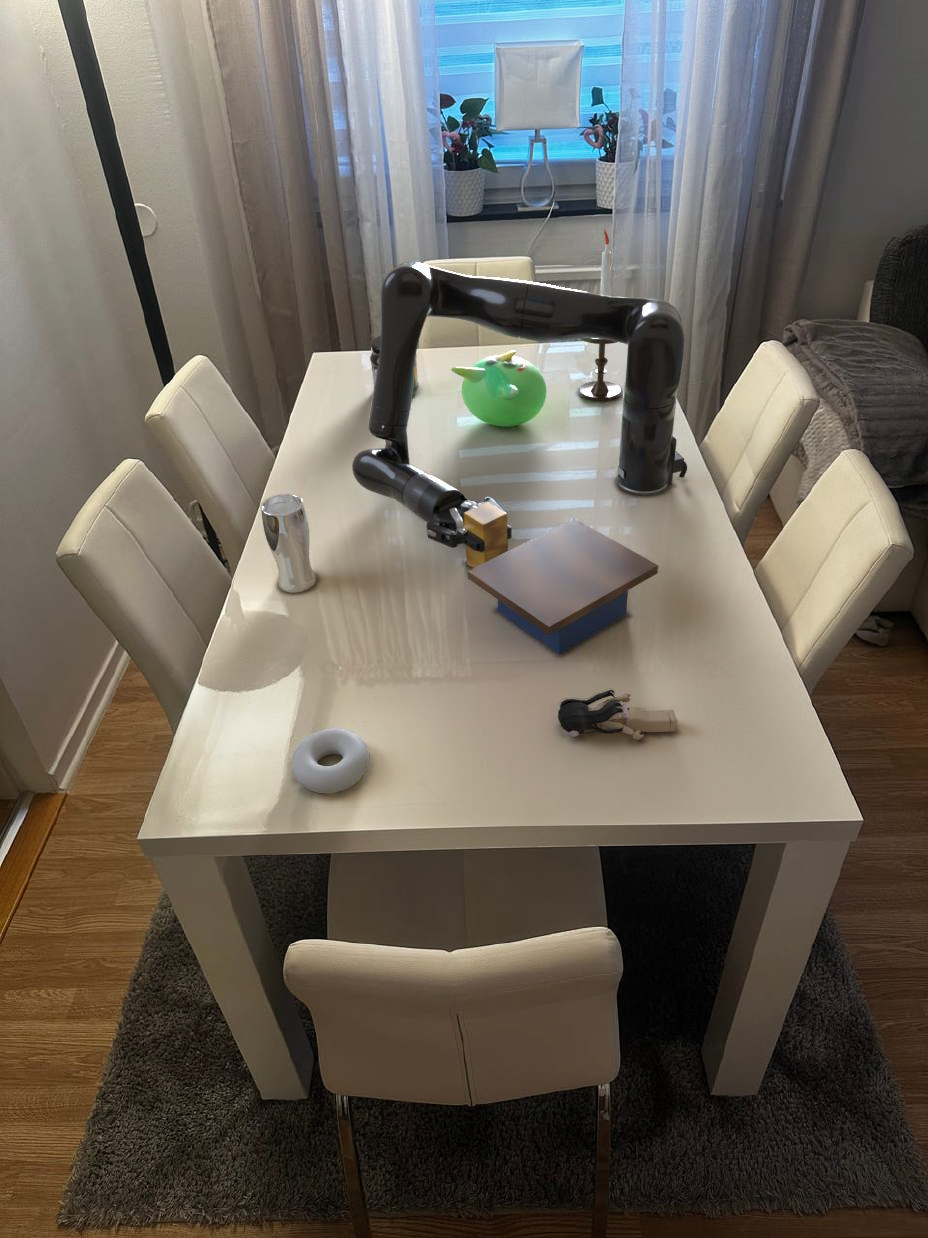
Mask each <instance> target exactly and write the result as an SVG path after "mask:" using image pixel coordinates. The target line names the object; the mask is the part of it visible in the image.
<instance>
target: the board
mask: <svg viewBox="0 0 928 1238" xmlns="http://www.w3.org/2000/svg"><path fill="white" fill-rule="evenodd" d="M658 573H659V564H657V563H655V562H653V561H652V560H650V559H648V558H646V557H645V556H642V555H641V554H639V553H637V552H636V551H634V550H632V549H630V548H628V547H626V546H625V545H623V544H621V543H619V542H618V541H616V540H614V539H612V538H611V537H608V536H607V535H605V534H604V533H602V532H600V531H598V530H596V529H594V528H592V527H591V526H589V525H587V524H585V523H583V522H582V521H580V520H578V519H576V518H571V519H570V520H567V521H566V522H563V523H562V524H559V525H557V526H555V527H553V528H552V529H550V530H547V531H545V532H544V533H541V534H539V535H537V536H535V537H533V538H531V539H529V540H527V541H525V542H523V543H521V544H519V545H517V546H515V547H513V548H511V549H508V551H507V552H505V553H503V554H501V555H499V556H497V557H495V558H493V559H491V560H489V561H487V562H485V563H483V564H481V565H479V566H477V567H475V568H473V567H472V568H471V569H469V570H467V580H469V581H470V582H472V583H473V584H474V585H476V586H477V587H479V589H481V590H483V591H484V592H486V593H488V594H489V595H491V596H492V597H493V598H495V600H497V601H498V600H499V601H500V602H502V603H503V604H505V605H506V606H508V607H509V608H511V609H512V610H513V611H515V612H516V613H518V614H519V615H521V616H522V617H523V618H525V619H526V620H528V621H529V622H531V623H532V624H534V625H535V626H536V627H538V628H539V629H541V630H542V631H544V632H545V633H546V634H548V635H551V634H552V633H554V632H556V631H558V630H559V629H561V628H563V627H565V626H566V625H568V624H570V623H572V622H573V621H575V620H577V619H579V618H580V617H582V616H584V615H586V614H587V613H589V612H591V611H593V610H594V609H596V608H598V607H600V606H601V605H603V604H605V603H607V602H608V601H610V600H612V599H614V598H615V597H617V596H619V595H621V594H622V593H624V592H626V591H628V592H629V591H630V590H632V589H633V588H635V587H637V586H638V585H640V584H642V583H643V582H645V581H647V580H649V579H650V578H652V577H654V576H656V575H658Z"/></svg>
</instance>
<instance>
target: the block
mask: <svg viewBox="0 0 928 1238" xmlns="http://www.w3.org/2000/svg"><path fill="white" fill-rule="evenodd" d="M507 524H508V513H507V512H506V511H505V510H504V511H502V510H500V509H498V508H497V507H495V506H493V505H492V504H490V503H488V502H486V503H484V504H482V505H480V506H478V507H475V508H473V509H471V510H469V511H467V512H464V525H465V528H466V529H467V533H468V532H472V533H473V534H475V535H476V536H478V537H480V538H481V539H483V540H484V542H485V551H483V552H481V553H480V552H479V551H474V550H473V549H471V548H470V547H468V546H467V545H465V559H466V560H465V561H466V564H467V565H468V566H469V567H471V568H472V569H473V568H475V567H477V566H479V565H481V564H483V563H485V562H487V561H489V560H491V559H493V558H495V557H497V556H499V555H501V554H503V553H505V552H507V551H509V544H508V543H509V542H508V541H509V539H508V536H507Z"/></svg>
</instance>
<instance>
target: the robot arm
mask: <svg viewBox="0 0 928 1238" xmlns="http://www.w3.org/2000/svg"><path fill="white" fill-rule="evenodd" d="M380 306H381V307H380V312H381V313H380V314H381V315H380V323H381V324H380V325H381V326H380V328H381V331H380V336H381V345H380V356H379V363H378V369H377V374H376V380H375V385H374V384H373V392H372V398H371V404H370V410H369V418H368V425H367V426H368V431H369V433H370V434H371V435H372V436H373V437H374V438H377V439H380V440H383V441H384V442H385V445H384V447H382V448H381V447H379V448H366V449H363V450H361V451H358V452H357V453H356V454H355V456H354V458H353V460H352V463H351V471H352V474H353V477H354V479H355V481H356V482H357V483H358V484H359V485H360V486H361V487H362V488H364V489H365V490H367V491H370V492H373V493H374V494H377V495H381V496H384V497H387V498H390V499H393V500H395V501H397V502H398V503H400V504H401V505H402V506H404V507H406V508H407V509H408V510H409V511H410V512H412V514H414V515H416V516H417V517H418V518H420V519H421V520H423V521H424V522H426V536H427V539H428V540H429V539H430V540H432V541H434V542H436V543H439V544H442V545H444V546H446V547H449V548H452V549H455V548H457V547H458V545H462V546H466V545H467V546H468V547H470V548H471V549H473V550H474V551H479V552H480V553H481V552H483V551H485V542H484V540H483V539H481V538H480V537H478V536H476V535H475V534H473V533H472V532H468V533H467V529H466V528H465V525H464V512H467V511H469V510H471V509H473V508H475V507H478V506H480V505H482V504H484V503H486V502H488V503H490V504H492V505H493V506H495V507H497V508H498V509H500V510H502V511H504V512H505V510H504V509H503V508H502V506H500V505H499V503H497V502H496V501H495V500H494V499H493V498H492V497H491V496H485V497H484V500H483V501H481V502H476V501H471V500H469V499H467V497H466V496H465V495H464V493H462V491H460V490H459V489H457V488H456V487H453V486H452V485H450V484H449V483H447V482H445V481H444V480H442V479H440V478H439V477H437V476H435V475H432V474H429V473H428V472H427V471H425V470H422V469H421V468H419V467H417V466H415V465H413V464H410V454H409V442H408V425H409V419H410V413H411V409H412V408H411V407H412V400H413V395H412V393H413V379H414V364H415V357H416V354H417V351H418V345H419V341H420V338H421V335H422V331H423V329H424V326H425V323H426V320H427V317H433V318H445V319H454V320H461V321H466V322H469V323H472V324H475V325H476V326H480V327H482V328H485V329H487V330H489V331H492V332H494V333H498V334H501V335H504V336H507V337H512V338H515V339H522V340H528V341H533V342H539V343H561V342H567V341H575V340H581V339H584V338H599V339H606V340H611V341H616V342H617V343H620V344H625V345H627V353H626V369H625V378H624V379H625V381H624V384H623V398H622V411H621V412H622V414H621V429H620V443H619V456H618V457H619V458H618V465H617V466H616V467H617V469H616V472H617V479H616V482H617V487H619V488H620V489H621V490H622V491H624V492H626V493H629V494H632V495H636V496H652V495H657V494H659V493H663V491H665V490H666V489H667V488H668V487H671V486H673V477H674V474H675V473H679V474H678V478H681V479H684V478H685V476H686V473H687V471H688V465H687V462H686V461H685V457H683V456H682V455H681V454H680V453H679V452H678V451H677V438H676V437H675V436H673V435H674V427H675V418H676V417H675V416H676V406H677V398H678V390H679V388H680V384H681V377H682V369H683V363H684V352H685V342H686V339H685V338H686V337H685V336H686V335H685V330H684V325H683V321H682V320H683V319H682V318H681V314H680V313H679V311H678V310H677V308H676V307H675V306H674V305H673V304H671V303H670V302H668V301H665V300H663V299H658V298H645V297H644V298H643V297H642V298H641V297H623V296H622V297H621V296H611V295H609V296H602V295H600V294H597V293H592V292H588V291H582V290H578V289H571V288H565V287H561V286H560V287H559V286H556V285H551V284H546V283H540V282H533V281H527V280H519V279H509V278H500V277H486V276H472V275H467V274H466V275H465V274H461V273H458V272H457V273H456V272H453V271H449V270H445V269H441V268H439V267H435V266H431V265H429V264H425V263H422V262H419V261H405V262H404V261H403V262H402V263H399V264H398V265H396V266H395V267H394V268H392V269H391V270H390V271H388V273H387V274H386V275H385V277H384V279H383V280H382V283H381V285H380ZM507 536H508V540H510V539H512V526H511V525H510V524H509V523H507Z"/></svg>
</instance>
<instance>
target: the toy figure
mask: <svg viewBox="0 0 928 1238" xmlns="http://www.w3.org/2000/svg"><path fill="white" fill-rule="evenodd" d="M615 696H616V692H615V690H614V689H612V688H611V687H609V688H607V690H604V691H603V690H601V691H600V692H599V693H598V692H596V693H594V694H593V695H591V696H590V697H588V698H587V699H580V698H578V697H575V698H565V697H564V698H562V699H560V702H559V703H558V704H559V709H558V712H557V719H558V722H559V724H560V727H561V728H562V729H563V731H564V734H565V735H568V736H570V737H572V738H575V737H577V736H579V735H581V734H582V735H583V734H584V735H585V734H591V733H601V734H604V735H611V734H616V733H617V734H619V733H623V734H627V735H629V736H631V737H632V739H633V740H641V739H642V738H643V737H644V736H645V735H644V734H641V733H642V732H643V733H665V732H668V733H669V732H675V730H676V728H677V724H678V718H677V715H676V713H675V710H674V709H662V710H660V709H657V710H656V709H655V710H646V709H641V708H636V707H632V708H629V707H628V706H627V704H626V703H629V702H630V701H631V696H632V694H631V693H628V692H627V693H623V695H621V696H617V697H615ZM608 697H611V698H608ZM605 698H607V699H606V700H604V701H602V702H600V703H598V704H596V705H595V706H594V707H593V708H591V706H590V705H591V704H594V703H595V702H597V701H600V700H602V699H605ZM561 700H562V701H561ZM622 702H623V703H622Z"/></svg>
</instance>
